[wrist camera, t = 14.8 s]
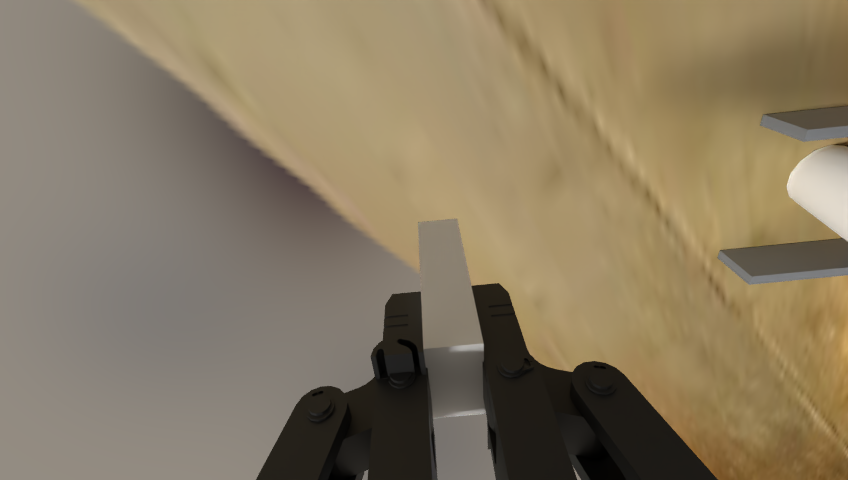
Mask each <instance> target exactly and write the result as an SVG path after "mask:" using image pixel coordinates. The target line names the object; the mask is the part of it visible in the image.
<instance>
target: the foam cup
mask: <svg viewBox="0 0 848 480" xmlns="http://www.w3.org/2000/svg"><path fill="white" fill-rule="evenodd" d="M787 190H788V194H789V197H790V198H792V199H793V200H794V201H795V202H796V203H798V204H799V205H800V206H802V207H803V208H804V209H806V210H807V211H808V212H809V213H811V214H812V215H813V216H815V217H816V218H817V219H819V220H820V221H821V222H823V223H824V224H825V225H827V226H828V227H829V228H830V229H832V230H833V231H834V232H836V233H837V234H838V235H840V236H841V237H842V238H844V239H845V240H846V241H847V242H848V147H846V146H843V145H829V146H826V147H823V148H820V149H818V150H815V151H813V152H812V153H811V154H809V155H808V156H806V157H805V158H804V159H802V160H801V161H800V162H799V163H798V165H797V166H796V167H795V169H794V170H793V171H792V172H791V174H790V177H789V180H788V183H787Z"/></svg>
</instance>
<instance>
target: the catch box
mask: <svg viewBox="0 0 848 480" xmlns="http://www.w3.org/2000/svg"><path fill="white" fill-rule="evenodd" d="M760 125H761V126H763V127H766V128H769V129H771V130H774V131H777V132H779V133H782V134H785V135H787V136H790V137H793V138H795V139H798V140H801V141H803V142H804V141H814V140H824V139H834V138H844V137H848V106H842V107H832V108H823V109H813V110H803V111H794V112H784V113H774V114H764V115H763V118H762V121H761V124H760ZM718 259H719V260H721V261H722V262H723V263H724V264H725V265H726V266H728V267H729V268H730V269H731V270H732V271H734V272H735V273H736V274H737V275H738V276H739V277H741V278H742V279H743V280H744V281H745V282H746V283H748V284H749V285H750V284H761V283H771V282H781V281H792V280H802V279H812V278H823V277H833V276H843V275H848V242H847V241H846V240H845V239H844V238H842V239H831V240H821V241H811V242H801V243H791V244H780V245H770V246H760V247H750V248H740V249H729V250H720V252H719V255H718Z"/></svg>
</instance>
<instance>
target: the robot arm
mask: <svg viewBox="0 0 848 480" xmlns="http://www.w3.org/2000/svg"><path fill="white" fill-rule="evenodd" d="M418 233H419V256H420V280H421V292H411V293H400V294H392V296H391V297H390V299H389V300H388V302H387V303H386V305H385V319H384V332H383V341H381V342H380V343H379V344H378V345H377V346H376V347H375V348H374V349H373V352H372V355H371V360H372V364H373V369H374V374H375V377H374V378H373V379H372V380H371V381H370V382H368V383H367V384H366V385H364V386H362V387H360V388H357V389H354V390H352V391H349V392H346V393H343V392H342V391H341V390H340V389H339V388H335V387H332V386H325V387H319V388H317V389H314V390H311V391H310V392H308V393H307V394H306V395H304V396H303V397H302V398H301V399H300V401H299V402H298V403H297V404H296V406H295V408H294V410H293V412H292V414H291V416H290V417H289V419H288V421H287V423H286V425H285V427H284V428H283V431H282V432H281V434H280V436H279V438H278V440H277V442H276V443H275V445H274V447H273V449H272V451H271V453H270V455H269V456H268V458H267V460H266V462H265V464H264V466H263V468H262V469H261V471H260V473H259V475H258V477H257V479H256V480H362V478H363V475H364V471H366V470H368V469H369V470H368V480H437V465H436V449H435V435H434V428H433V418H440V417H452V416H464V415H475V414H485V410H486V415H487V426H488V449H491V454H492V460H493V466H494V471H495V477H496V480H577V478H576V475H575V472H574V469H573V467H574V468H575V470H576V472H577V473H578V475H579V477H580V478H581V480H718V479H717V478H716V477H715V476H714V475H713V474H712V473H711V472H710V470H709V469H708V468H707V467H706V466H705V465H704V464H703V463H702V461H701V460H700V459H699V458H698V457H697V456H696V455H695V454H694V452H693V451H692V450H691V449H690V448H689V447H688V446H687V445H686V443H685V442H684V441H683V440H682V439H681V438H680V437H679V436H678V434H677V433H676V432H675V431H674V430H673V429H672V428H671V427H670V425H669V424H668V423H667V422H666V421H665V420H664V419H663V418H662V417H661V415H660V414H659V413H658V412H657V411H656V410H655V409H654V408H653V406H652V405H651V404H650V403H649V402H648V401H647V400H646V399H645V397H644V396H643V395H642V394H641V393H640V392H639V391H638V390H637V388H636V387H635V386H634V385H633V384H632V383H631V382H630V381H629V379H628V378H627V377H626V376H625V375H624V374H623V373H622V372H620V371H619V370H618V369H617V368H615V367H613V366H611V365H609V364H606V363H602V362H596V361H592V362H584V363H582V364H580V365H578V366H577V367H576V368H575V369H574V371H573V372H568V371H563V370H557V369H553V368H549V367H546V366H544V365H542V364H540V363H539V362H537V361H536V360H535V359H534V358H533V357H532V356H531V355H530V354H529V352H528V350H527V347H526V344H525V341H524V338H523V335H522V332H521V329H520V326H519V323H518V320H517V317H516V315H515V311H514V308H513V306H512V302H511V299H510V296H509V293H508V292H507V291H506V290H505V289H504V288H503V287H502V286H501V285H500V284H499V283H497V284H486V285H475V286H471V282H470V277H469V273H468V268H467V263H466V258H465V254H464V249H463V244H462V240H461V235H460V230H459V226H458V221H457V219H447V220H437V221H426V222H418ZM572 465H573V466H572Z"/></svg>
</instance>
